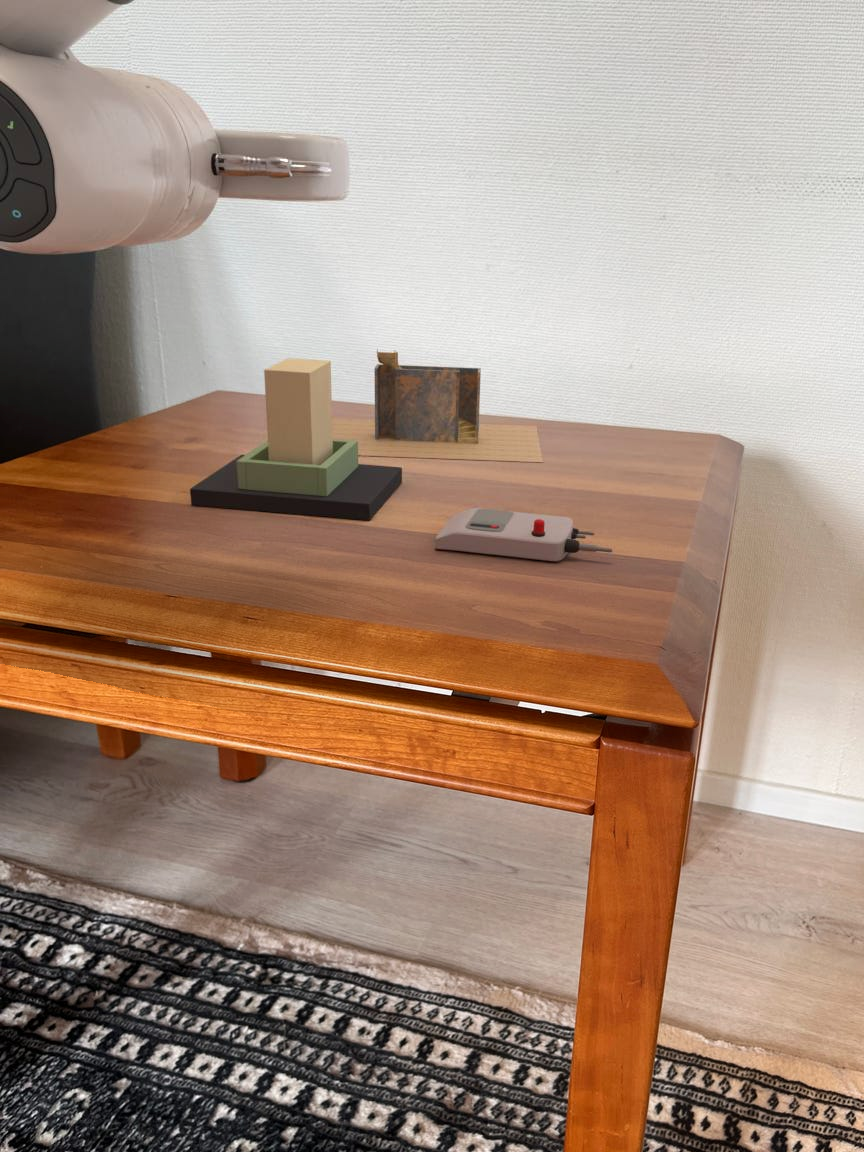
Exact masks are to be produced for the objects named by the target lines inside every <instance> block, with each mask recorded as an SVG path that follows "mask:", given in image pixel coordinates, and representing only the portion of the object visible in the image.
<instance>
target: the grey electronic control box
mask: <svg viewBox="0 0 864 1152" xmlns="http://www.w3.org/2000/svg"><path fill="white" fill-rule="evenodd" d="M587 536H595V532H594V531H588V530H587V531H586V530H580V529H579V528H575V527H574V520H573V519H572V518H571V517H569V516H561V515H560V516H559V515H550V514H540V513H531V512H530V513H529V512H520V511H519V512H518V511H510V510H502V509H492V508H480V507H472V508H468V509H465V510H463V511H460V512H457V513H455V514H454V515H452V516H451V517H450V519H449V520H448V521H447V522H446V523H445V525H444V526H443V527H442V529H441V530H440V531H439V532H438V533H437V534H436V537H435V540H434V549H436V550H445V551H455V552H456V551H457V552H466V553H474V554H484V555H490V556H491V555H492V556H501V557H510V558H520V559H529V560H536V561H537V560H539V561H546V562H560V561H562V560H563V559H565V557H566V556H567V555H568V553H570V554H575V553H578V552H579V551H582V552H591V553H596V552H602V553H612V552H613V548H610V547H603V546H598V545H596V544H595V545H594V544H585V543H580V541H579V540H577V539H583V540H584V539H585V540H586V538H587Z"/></svg>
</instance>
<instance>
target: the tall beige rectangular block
mask: <svg viewBox="0 0 864 1152" xmlns="http://www.w3.org/2000/svg"><path fill="white" fill-rule="evenodd" d="M263 375H264V392H265V393H264V394H265V395H264V396H265V412H266V431H267V440H268V452H269V461H274V462H287V463H299V464H312V465H321V464H322V463H323V462H325V461H326V460H327V459H328V458H329V457H331V456H332V455H333V435H332V418H333V403H332V401H333V400H332V363H331V360H324V359H323V360H321V359H307V358H293V357H291V358H290V357H288V358H285V359H283V360H281V361H280V362H277V363H275V364H272V365H271V366H269V367H266V368H265V369H264V370H263Z"/></svg>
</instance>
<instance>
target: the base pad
mask: <svg viewBox="0 0 864 1152" xmlns="http://www.w3.org/2000/svg"><path fill="white" fill-rule="evenodd" d="M402 483H403V467H401V466H389V465H388V466H387V465H377V464H375V465H374V464H363V463H359V455H358V441H356V440H343V439H333V455H332V456H331V457H329V458H328V459H327V460H326V461H325V462H323V463H322V464H321V465H312V464H299V463H287V462H274V461H269V452H268V439H267V440H266V441H264V442H263V443H261V444H259V446H257V447H256V448H254V449H252V450H251V451H249V452H248V453H247V454H240V455H239V456H237V457H236V458H234V459H233V460H231V461H229V462H228V463H226V464H225V465H224V466H222V467H220V468H219V469H218V470H216V471H215V472H213V473H212V474H210V475H209V476H207V477H205V478H204V479H203V480H200V481H199V482H198V483H197V484H195V485H194V486H191V488H190V489H189V494H190V504H191V506H199V507H211V508H222V509H234V510H245V511H256V512H268V513H279V514H291V515H303V516H313V517H324V518H325V517H326V518H334V519H335V518H337V519H347V520H357V521H359V520H360V521H370V520H371V519H372V518H373V517H374V516H375V515H376V514H377V513H378V511H379V510H380V509H381V507H382V506H383V505H384V504H385V503H386V501H388V499H389V498H390V497H391V496H392V495H393V494H394V492H395V491H396V490H397V489H398V488H399V486H400V485H401V484H402Z"/></svg>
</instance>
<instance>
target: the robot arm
mask: <svg viewBox="0 0 864 1152" xmlns="http://www.w3.org/2000/svg"><path fill="white" fill-rule="evenodd" d="M134 1H135V0H0V249H2V250H5V251H8V252H9V251H10V252H15V253H20V254H29V255H69V254H70V255H71V254H82V253H92V252H96V251H102V250H106V249H108V248H112V247H134V246H135V247H136V246H143V245H150V244H158V243H165V242H171V241H172V242H173V241H176V240H179V239H182V238H184V237H186V236H189V235H190V234H192V233H194V232H195V231H197V230H198V229H199V228H200V227H201V226H202V225H203V224H204V223H205V222H206V221H207V219H208V218H209V217H210V215H211V214H212V212H213V211H214V209H215V207H216V204H217V202H218V200H219V199H235V200H253V201H272V202H294V203H295V202H297V203H298V202H299V203H307V202H311V203H312V202H315V203H316V202H339V201H342V200H345V199H346V198H347V197H348V196H349V192H350V152H349V150H350V149H349V145H348V142H347V141H346V140H345V139H344V138H341V137H339V136H338V137H337V136H329V135H319V134H305V133H294V132H293V133H291V132H273V131H252V130H250V131H249V130H234V129H233V130H231V129H215V128H214V126H213V125H212V122H211V121H210V119H209V117H208V115H207V114H206V112H205V111H204V110H203V108H202V107H201V106H200V104H199V103H198V102H197V101H196V99H194V98H193V97H192V96H191V95H190V94H189V93H188V92H186V91H185V90H183V89H182V88H181V87H180V86H178V85H176V84H175V83H173V82H171V81H169V80H166V79H163V78H161V77H157V76H152V75H147V74H142V73H137V72H133V71H127V70H121V69H116V68H111V67H110V68H109V67H100V66H99V67H97V66H89V65H86V64H84V63H83V62H81V60H79V59H78V58H77V56H76V55H75V54H74V53H73V51H72V50H71V47H72V46H73V45H75V44H76V43H77V42H78V41H80V40H81V39H82V38H84V37H85V36H86V35H87V34H89V33H90V32H91V31H92V30H93V29H94V28H96V27H97V26H98V25H100V23H102V22H103V21H105V20H106V19H107V18H108V17H109V16H111V15H112V14H113V13H114V12H116V10H118V9H119V8H120V7H122V6H124V5H129V4H131V3H132V2H134Z"/></svg>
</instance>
